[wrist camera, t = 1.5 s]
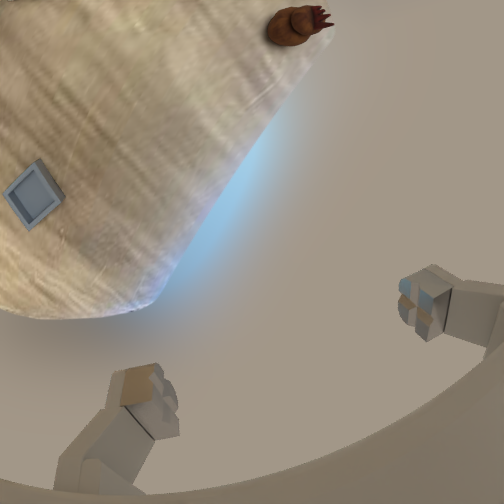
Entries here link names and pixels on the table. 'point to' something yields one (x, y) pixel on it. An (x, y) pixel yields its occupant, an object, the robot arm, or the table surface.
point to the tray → (33, 194)
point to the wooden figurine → (297, 24)
